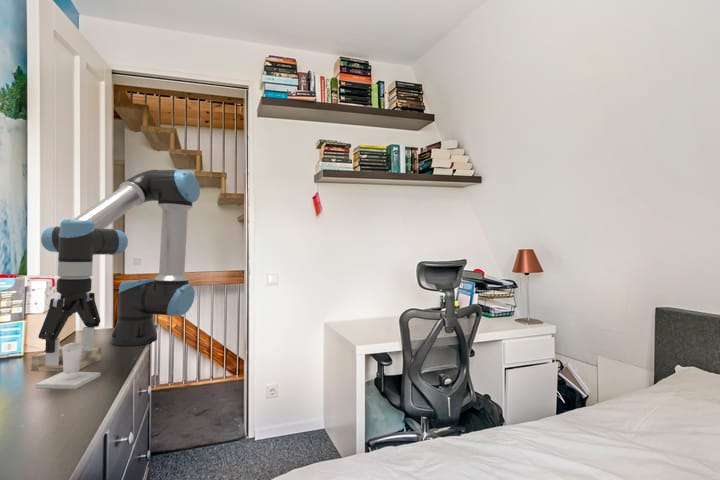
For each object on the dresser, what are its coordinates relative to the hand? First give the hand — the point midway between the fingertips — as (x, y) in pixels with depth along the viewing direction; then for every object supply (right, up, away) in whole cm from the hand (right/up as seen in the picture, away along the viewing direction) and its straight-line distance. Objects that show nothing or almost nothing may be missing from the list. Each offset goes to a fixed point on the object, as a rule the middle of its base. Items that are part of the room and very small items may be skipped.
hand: (70, 357), depth 105 cm
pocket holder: (-11, -6, +13) cm, 18 cm away
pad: (0, -6, 0) cm, 6 cm away
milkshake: (0, -6, 0) cm, 6 cm away
